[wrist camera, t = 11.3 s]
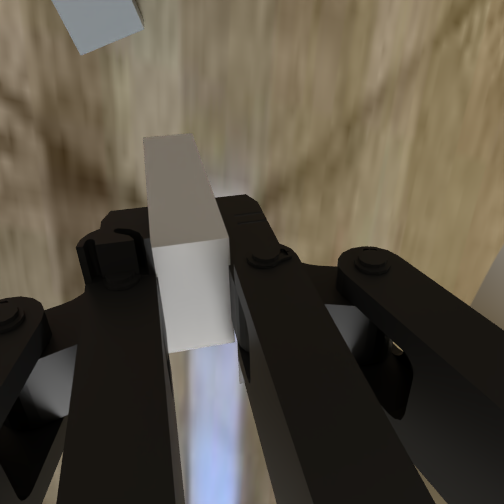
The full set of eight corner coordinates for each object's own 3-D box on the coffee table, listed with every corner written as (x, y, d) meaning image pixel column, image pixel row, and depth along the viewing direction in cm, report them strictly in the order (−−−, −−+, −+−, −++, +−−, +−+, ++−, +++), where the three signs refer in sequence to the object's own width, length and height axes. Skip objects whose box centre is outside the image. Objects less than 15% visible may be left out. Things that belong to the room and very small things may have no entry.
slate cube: (87, 44, 34) (80, 55, 30) (53, -23, 31) (41, -20, 28) (143, 20, 34) (144, 29, 30) (114, -49, 31) (110, -49, 27)
